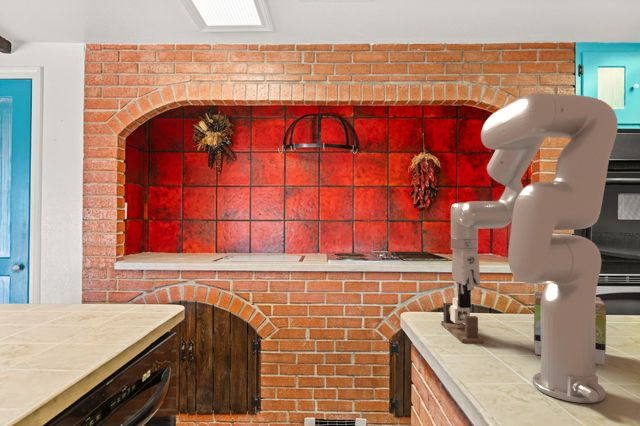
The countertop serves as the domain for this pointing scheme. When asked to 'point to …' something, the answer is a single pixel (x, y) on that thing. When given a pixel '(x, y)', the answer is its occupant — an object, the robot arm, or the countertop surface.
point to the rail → (462, 326)
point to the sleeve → (455, 309)
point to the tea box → (599, 328)
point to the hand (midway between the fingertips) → (464, 307)
